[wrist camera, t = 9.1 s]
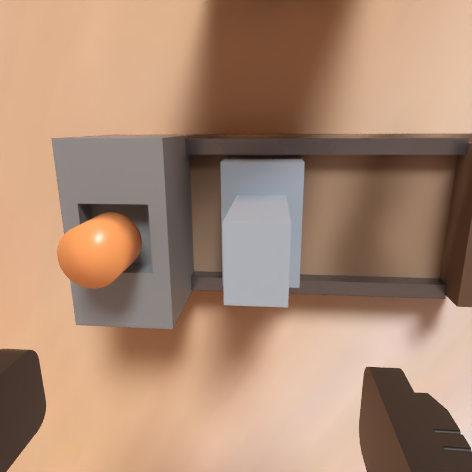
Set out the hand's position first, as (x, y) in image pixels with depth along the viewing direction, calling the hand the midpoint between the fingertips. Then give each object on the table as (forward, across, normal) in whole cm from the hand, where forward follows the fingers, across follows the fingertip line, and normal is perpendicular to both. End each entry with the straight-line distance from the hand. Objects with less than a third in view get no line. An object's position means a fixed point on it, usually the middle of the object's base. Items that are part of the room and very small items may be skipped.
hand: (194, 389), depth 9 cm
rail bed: (+20, -3, 0) cm, 20 cm away
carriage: (+19, -1, 0) cm, 19 cm away
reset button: (+12, +7, 0) cm, 14 cm away
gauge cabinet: (+19, +7, 0) cm, 20 cm away
